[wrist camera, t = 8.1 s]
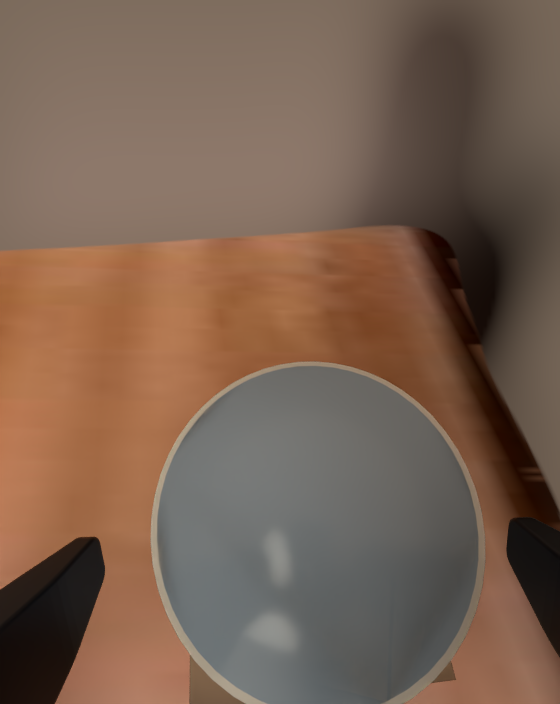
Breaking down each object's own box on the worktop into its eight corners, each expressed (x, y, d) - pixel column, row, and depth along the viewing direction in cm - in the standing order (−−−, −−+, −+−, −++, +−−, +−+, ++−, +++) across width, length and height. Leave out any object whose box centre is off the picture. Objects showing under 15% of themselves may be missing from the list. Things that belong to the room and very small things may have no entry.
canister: (379, 618, 15) (546, 708, 5) (245, 629, 15) (129, 741, 5) (356, 480, 18) (431, 351, 8) (242, 489, 18) (165, 373, 8)
